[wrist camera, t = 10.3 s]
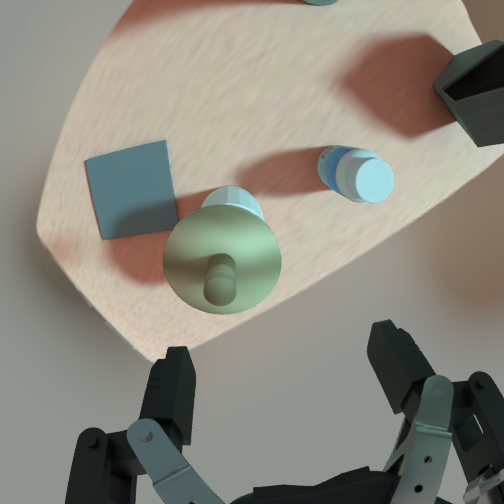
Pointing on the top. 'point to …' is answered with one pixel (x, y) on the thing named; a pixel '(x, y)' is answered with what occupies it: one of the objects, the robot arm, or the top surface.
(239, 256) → the lid
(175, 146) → the top surface
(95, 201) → the mat
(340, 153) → the pill bottle
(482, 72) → the planter
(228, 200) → the mug
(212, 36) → the top surface
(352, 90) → the top surface
